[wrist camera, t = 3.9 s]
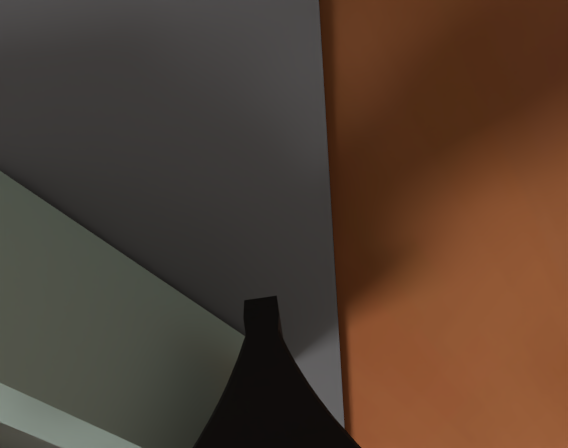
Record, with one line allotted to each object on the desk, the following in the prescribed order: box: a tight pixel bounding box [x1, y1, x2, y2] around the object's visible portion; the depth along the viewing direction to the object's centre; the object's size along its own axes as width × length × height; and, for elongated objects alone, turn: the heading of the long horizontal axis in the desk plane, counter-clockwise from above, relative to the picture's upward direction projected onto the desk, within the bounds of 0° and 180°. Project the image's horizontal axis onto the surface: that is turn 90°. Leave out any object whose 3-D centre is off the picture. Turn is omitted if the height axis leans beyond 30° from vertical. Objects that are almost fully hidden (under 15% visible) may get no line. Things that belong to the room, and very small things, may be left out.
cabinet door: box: [0, 171, 245, 448], centre depth 12 cm, size 12×2×5 cm, turn 43°
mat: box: [0, 0, 345, 429], centre depth 15 cm, size 26×20×1 cm
